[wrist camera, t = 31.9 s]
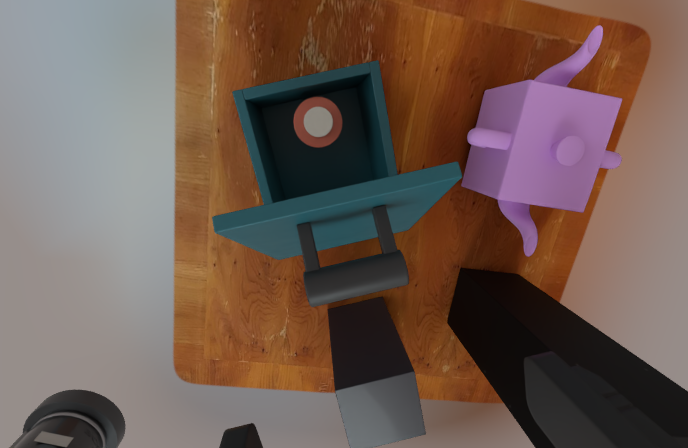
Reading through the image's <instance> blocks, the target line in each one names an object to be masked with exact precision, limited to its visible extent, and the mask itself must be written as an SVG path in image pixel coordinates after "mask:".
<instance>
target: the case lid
mask: <svg viewBox="0 0 688 448" xmlns="http://www.w3.org/2000/svg"><path fill="white" fill-rule="evenodd" d="M460 178H462V173H461V170H460V167H459V164H458V162H453V163H448V164H444V165H439V166H435V167H430V168H426V169H421V170H417V171H413V172H408V173H404V174H399V175H395V176H390V177H386V178H381V179H377V180H373V181H368V182H364V183H359V184H355V185H350V186H346V187H341V188H337V189H333V190H328V191H324V192H319V193H315V194H310V195H306V196H301V197H297V198H293V199H288V200H284V201H279V202H275V203H270V204H266V205H261V206H257V207H253V208H248V209H244V210H239V211H235V212H230V213H226V214H221V215H217V216H213V217H212V219H213V226H214V232H215V233H217V234H219V235H221V236H224V237H226V238H228V239H231V240H233V241H235V242H238V243H240V244H242V245H245V246H247V247H249V248H252V249H254V250H256V251H259V252H261V253H263V254H266V255H268V256H270V257H273V258H275V259H277V260H281V259H285V258H289V257H294V256H298V255H302V254H303V259H304V264H305V269H306V271H305V272H304V275H303V277H304V285H305V290H306V294H307V298H308V302H309V304H310V306H311V307H315V306H319V305H323V304H328V303H332V302H336V301H340V300H345V299H349V298H353V297H357V296H361V295H366V294H370V293H374V292H378V291H383V290H387V289H391V288H395V287H400V286H404V285H407V284H408V283H409V276H408V270H407V266H406V262H405V259H404V257H403V254H402V253H401V251H400V250H397V247H396V243H395V239H394V236H393V233H398V232H402V231H406V230H409V229H410V228H411V227H412V226H413V225H414V224H415V223H416V222H417V221H418V220H419V219H420V218H421V217H422V216H423V215H424V214H425V213H426V212H427V211H428V210H429V209H430V208H431V207H432V206H433V205H434V204H435V203H436V202H437V201H438V200H439V199H440V198H441V197H442V196H443V195H444V194H445V193H446V192H447V191H448V190H449V189H450V188H451V187H452V186H453V185H454V184H455V183H456V182H457V181H458V180H459V179H460ZM376 237H378V238H379V242H380V246H381V249H382V254H378V255H374V256H370V257H365V258H361V259H357V260H352V261H348V262H344V263H339V264H335V265H331V266H326V267H322V268H320V264H319V259H318V255H317V251H320V250H324V249H328V248H333V247H337V246H341V245H346V244H350V243H354V242H359V241H363V240H367V239H372V238H376Z"/></svg>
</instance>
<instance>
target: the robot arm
mask: <svg viewBox="0 0 688 448" xmlns="http://www.w3.org/2000/svg"><path fill="white" fill-rule="evenodd" d="M524 375H525V388H526V400H527V404H528V407H529V410H530V412H531V414H532V416H533V418H534V420H535V421H536V423H537V424H538V426H539V427H540V428H541V429H542V431H543V432H544V433H545V435H546V436H547V437H548V438H549V440H550V441H551V442H552V444H553V445H554V446H555V447H556V448H684V447H683V446H682V445H681V444H680V443H678V442H677V441H676V440H675V439H674V438H673V437H671V436H670V435H669V434H668V433H667V432H665V431H664V430H663V429H662V428H661V427H660V426H658V425H657V424H656V423H655V422H654V421H652V420H651V419H650V418H649V417H648V416H647V415H645V414H644V413H643V412H642V411H641V410H639V409H638V408H637V407H634V406H633V404H632V403H631V402H630V401H629V400H628V399H626V398H625V397H624V396H623V395H622V394H619V393H618V391H617V390H616V389H615V388H613V387H612V386H611V385H610V384H609V383H607V382H606V381H605V380H604V379H603V378H602V377H600V376H599V375H597V374H595V373H593V372H591V371H589V370H587V369H585V368H583V367H581V366H579V365H577V366H573V367H570V366H569V365H568V364H567V363H566V362H565V361H564V360H562V359H561V358H560V357H559V356H558V355H557V354H556V353H554V352H552V351H549V352H545V353H541V354H537V355H533V356H529V357H525V358H524ZM106 446H107V435H106V432H105V430H104V428H103V426H102V425H101V424H100V423H99V422H98V421H97V420H96V419H94V418H93V417H91V416H90V415H88V414H85V413H83V412H79V411H75V410H58V411H54V412H51V413H48V414H46V415H45V416H43V417H42V418H41V419H40V420H39V421H38V422H37V423H36V424H35V425H34V426H33V427H31V428H28V429H27V430H26V431H25V432H24V433H23V434H22V435H21V436H20V437H19V438H18V439H17V440H16V442H14V443H13V445H12V446H11V447H10V448H106ZM219 448H263V446H262V444H261V441H260V438H259V435H258V432H257V430H256V427H255V425H254V424H253V423H251V424H247V425H243V426H239V427H235V428H231V429H227V430H226V431H225V432H224V434H223V437H222V441H221V444H220V447H219Z"/></svg>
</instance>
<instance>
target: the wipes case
mask: <svg viewBox="0 0 688 448" xmlns="http://www.w3.org/2000/svg"><path fill="white" fill-rule="evenodd" d="M232 93H233V96H234V100H235V104H236V107H237V111H238V114H239V118H240V121H241V125H242V128H243V132H244V136H245V139H246V143H247V146H248V150H249V153H250V157H251V160H252V164H253V168H254V171H255V175H256V178H257V182H258V185H259V189H260V192H261V196H262V200H263V203H264V205H266V204H270V203H275V202H279V201H284V200H288V199H293V198H297V197H301V196H306V195H310V194H315V193H319V192H324V191H328V190H333V189H337V188H341V187H346V186H350V185H355V184H359V183H364V182H368V181H373V180H377V179H381V178H386V177H390V176H395V175H398V174H397V168H396V162H395V156H394V150H393V144H392V138H391V132H390V126H389V120H388V114H387V108H386V102H385V96H384V90H383V84H382V78H381V72H380V66H379V61H378V60H377V61H372V62H369V63H368V62H367V63H363V64H358V65H353V66H349V67H344V68H339V69H335V70H330V71H325V72H321V73H316V74H311V75H307V76H302V77H297V78H292V79H288V80H283V81H278V82H274V83H269V84H264V85H260V86H255V87H250V88H246V89H243V90H237V91H233V92H232ZM311 97H324V98H327V99H329V100H331V101H332V102H333V103H334V104H335V105H336V106H337V107H338V109H339V110H340V113H341V115H342V130H341V132H340V135H339V136H338V138H337V139H336V140H335V141H334V142H333V143H332V144H330V145H328V146H325V147H320V148H318V147H312V146H309V145H307V144H305V143H304V142H303V141H301V140H300V138H299V137H298V136H297V134H296V132H295V129H294V123H293V120H294V114H295V111H296V109H297V108H298V106H299V105H300V104H301V103H302V102H303V101H304V100H306V99H308V98H311Z"/></svg>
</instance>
